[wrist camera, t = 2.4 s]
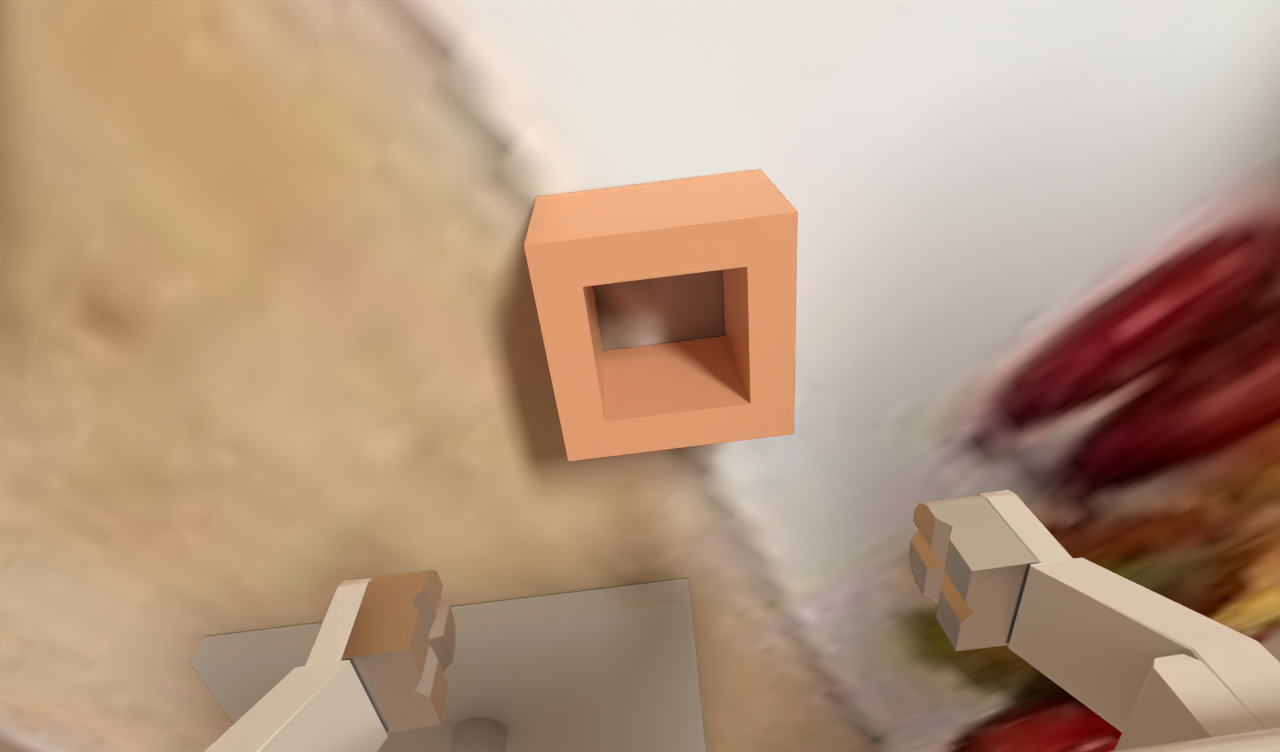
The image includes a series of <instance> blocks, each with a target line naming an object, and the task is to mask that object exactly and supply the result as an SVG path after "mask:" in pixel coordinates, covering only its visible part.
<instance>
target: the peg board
mask: <svg viewBox="0 0 1280 752" xmlns="http://www.w3.org/2000/svg"><path fill="white" fill-rule="evenodd" d="M451 610H452V613H453V616H454V622H455V651H454V657H453V662H452V663H451V664H450V665H449V666H448V667H447V669H446V670H445V671H444V672H443V674H444V676H445V679H446V681H447V684H448V690H447V695H446V700H445V705H444V710H443V716H442V721H441V724H438V725H432V726H426V727H420V728H414V729H409V730H403V731H397V732H391V733H387V735H388V737H387V738H386V740H385V741H384V743H383V744H382V745H381V747H380V748H379V749H378V751H377V752H706V747H705V736H704V726H703V716H702V706H701V695H700V685H699V675H698V665H697V654H696V644H695V634H694V624H693V613H692V603H691V596H690V590H689V583H688V578H686V579H678V580H670V581H661V582H653V583H645V584H636V585H628V586H620V587H612V588H603V589H595V590H587V591H579V592H570V593H562V594H554V595H546V596H537V597H529V598H521V599H512V600H504V601H496V602H488V603H479V604H471V605H463V606H455V607H451ZM322 623H323V622H322ZM322 623H314V624H306V625H298V626H289V627H281V628H273V629H265V630H256V631H248V632H240V633H231V634H223V635H215V636H207V637H204V638H203V640H202V641H201V643H200V645H199V646H198V648H197V650H196V651H195V653H194V655H193V657H192V658H191V660H190V662H189V663H190V665H191V666H192V668H193V669H194V670H195V672H196V673H197V674H198V676H199V677H200V678H201V680H202V681H203V683H204V684H205V685H206V687H207V688H208V689H209V691H210V692H211V694H212V695H213V696H214V698H215V699H216V700H217V702H218V703H219V704H220V706H221V707H222V709H223V710H224V711H225V713H226V714H227V715H228V717H229V718H230V720H231V721H232V722H233V724H235V723H236V722H237V721H238V720H239V719H240V718H241V717H242V716H243V715H244V714H246V713H247V712H248V711H249V710H250V709H251V708H252V707H253V706H254V705H255V704H256V703H257V702H259V701H260V700H261V699H262V698H263V697H264V696H265V695H266V694H267V693H268V692H269V691H270V690H272V689H273V688H274V687H275V686H276V685H277V684H278V683H279V682H280V681H281V680H282V679H283V678H285V677H286V676H287V675H288V674H289V673H290V672H291V671H292V670H293V669H294V668H295V667H301V666H305V664H306V662H307V659H308V657H309V654H310V652H311V650H312V647H313V645H314V642H315V640H316V637H317V635H318V632H319V630H320V627H321V625H322Z"/></svg>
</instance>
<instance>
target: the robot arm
mask: <svg viewBox="0 0 1280 752" xmlns="http://www.w3.org/2000/svg"><path fill="white" fill-rule="evenodd" d="M913 521H914V522H915V524H916V526H917V527H918V529H919V532H918V533H917V534H916V535H915V536H914V537H913V538H912V539H911V541H910V552H909V556H910V562H911V568H912V572H913V575H914V578H915V580H916V583H917V585H918V587H919V588H920V590H921V592H922V594H923V596H925V597H927V598H928V599H930V600H931V601H933V602H935V603H936V604H938V607H937V613H936V618H937V620H938V622H939V624H940V625H941V627H942V629H943V630H944V632H945V634H946V636H947V637H948V639H949V641H950V642H951V644H952V646H953V648H954V649H955V651H962V650H971V649H979V648H988V647H997V646H1006V645H1009V646H1008V648H1009V649H1010V650H1011V651H1013V652H1014V653H1016V654H1017V655H1018V656H1020V657H1021V658H1022V659H1024V660H1025V661H1026V662H1028V663H1029V664H1030V665H1032V666H1033V667H1034V668H1036V669H1037V670H1038V671H1040V672H1041V673H1042V674H1044V675H1045V676H1046V677H1048V678H1049V679H1051V680H1052V681H1053V682H1055V683H1056V684H1057V685H1059V686H1060V687H1061V688H1063V689H1064V690H1065V691H1067V692H1068V693H1069V694H1071V695H1072V696H1073V697H1075V698H1076V699H1077V700H1079V701H1080V702H1081V703H1083V704H1084V705H1085V706H1087V707H1088V708H1090V709H1091V710H1092V711H1094V712H1095V713H1096V714H1098V715H1099V716H1100V717H1102V718H1103V719H1104V720H1106V721H1107V722H1108V723H1110V724H1111V725H1112V726H1114V727H1115V728H1116V729H1118V730H1119V731H1120V732H1122V734H1121V737H1120V739H1119V741H1118V743H1117V746H1116V748H1115V750H1114V751H1112V752H1280V663H1279V661H1278V660H1276V659H1275V658H1274V657H1273V656H1272V655H1271V654H1270V653H1269V652H1268V651H1267V650H1266V649H1265V648H1264V647H1263V646H1262V645H1261V644H1260V643H1259V642H1258V641H1256V640H1253V639H1251V638H1249V637H1247V636H1245V635H1243V634H1241V633H1239V632H1237V631H1235V630H1233V629H1230V628H1228V627H1226V626H1224V625H1222V624H1220V623H1218V622H1216V621H1214V620H1212V619H1210V618H1207V617H1205V616H1203V615H1201V614H1199V613H1197V612H1195V611H1193V610H1191V609H1189V608H1187V607H1184V606H1182V605H1180V604H1178V603H1176V602H1174V601H1172V600H1170V599H1168V598H1166V597H1164V596H1161V595H1159V594H1157V593H1155V592H1153V591H1151V590H1149V589H1147V588H1145V587H1143V586H1141V585H1138V584H1136V583H1134V582H1132V581H1130V580H1128V579H1126V578H1124V577H1122V576H1120V575H1118V574H1115V573H1113V572H1111V571H1109V570H1107V569H1105V568H1103V567H1101V566H1099V565H1097V564H1095V563H1092V562H1090V561H1088V560H1086V559H1084V558H1074V559H1073V558H1072V557H1071V556H1070V555H1069V554H1068V552H1067V551H1066V550H1065V549H1064V548H1063V547H1062V546H1061V545H1060V543H1059V542H1058V541H1057V540H1056V539H1055V538H1054V537H1053V536H1052V534H1051V533H1050V532H1049V531H1048V530H1047V529H1046V528H1045V526H1044V525H1043V524H1042V523H1041V522H1040V521H1039V520H1038V519H1037V517H1036V516H1035V515H1034V514H1033V513H1032V512H1031V511H1030V510H1029V508H1028V507H1027V506H1026V505H1025V504H1024V503H1023V502H1022V501H1021V499H1020V498H1019V497H1018V496H1017V495H1016V494H1015V493H1014V492H1012V491H1010V490H1001V491H994V492H988V493H981V494H977V495H968V496H962V497H955V498H948V499H941V500H934V501H928V502H921V503H919V504H918V505H917V507H916V508H915V513H914V519H913ZM442 587H443V585H442V583H441V580H440V578H439V575H438V573H437V572H436V571H433V570H429V571H420V572H412V573H403V574H394V575H385V576H376V577H373V578H364V579H355V580H346V581H343V582H342V583H341V584H340V585H339V586H338V587H337V589H336V591H335V593H334V596H333V598H332V601H331V603H330V605H329V608H328V610H327V613H326V615H325V618H324V620H323V623H322V625H321V627H320V630H319V632H318V635H317V637H316V640H315V642H314V645H313V647H312V650H311V652H310V654H309V657H308V659H307V662H306V664H305V666H301V667H295V668H294V669H293V670H292V671H291V672H290V673H289V674H288V675H287V676H286V677H285V678H283V679H282V680H281V681H280V682H279V683H278V684H277V685H276V686H275V687H274V688H273V689H272V690H270V691H269V692H268V693H267V694H266V695H265V696H264V697H263V698H262V699H261V700H260V701H259V702H257V703H256V704H255V705H254V706H253V707H252V708H251V709H250V710H249V711H248V712H247V713H246V714H244V715H243V716H242V717H241V718H240V719H239V720H238V721H237V722H236V723H235V724H234V725H233V726H231V727H230V728H229V729H228V730H227V731H226V732H225V733H224V734H223V735H222V736H221V737H220V738H218V739H217V740H216V741H215V742H214V743H213V744H212V745H211V746H210V747H209V748H208V749H207V750H205V751H204V752H377V751H378V749H379V748H380V747H381V745H382V744H383V743H384V741H385V740H386V738H387V737H388V735H387V733H391V732H397V731H403V730H409V729H414V728H420V727H426V726H432V725H438V724H441V721H442V716H443V710H444V705H445V700H446V695H447V690H448V684H447V681H446V679H445V676H444V674H443V672H444V671H445V670H446V669H447V667H448V666H449V665H450V664H451V663H452V662H453V657H454V651H455V622H454V616H453V613H452V610H451V607H450V604H449V603H447V602H446V601H444V600H442V599H441V598H440V596H441V591H442Z"/></svg>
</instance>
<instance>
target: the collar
mask: <svg viewBox="0 0 1280 752" xmlns="http://www.w3.org/2000/svg"><path fill="white" fill-rule="evenodd" d="M797 221H798V212H797V211H796V209H795V208H794V207H793V206H792V205H791V204H790V203H789V201H788V200H787V199H786V198H785V197H784V196H783V194H782V193H781V192H780V191H779V190H778V189H777V187H776V186H775V185H774V184H773V183H772V182H771V181H770V179H769V178H768V177H767V176H766V175H765V174H764V172H763V171H762V170H761V169H758V170H749V171H741V172H733V173H725V174H717V175H709V176H701V177H693V178H685V179H676V180H668V181H660V182H652V183H644V184H636V185H628V186H620V187H612V188H603V189H595V190H587V191H579V192H571V193H563V194H555V195H547V196H539V197H536V200H535V204H534V208H533V212H532V216H531V220H530V224H529V227H528V231H527V235H526V239H525V243H524V249H525V254H526V259H527V264H528V269H529V273H530V278H531V283H532V288H533V293H534V298H535V303H536V307H537V312H538V317H539V322H540V327H541V332H542V336H543V341H544V346H545V351H546V356H547V361H548V365H549V370H550V375H551V380H552V385H553V390H554V395H555V399H556V404H557V409H558V414H559V419H560V424H561V428H562V433H563V438H564V443H565V448H566V453H567V458H568V461H575V460H584V459H592V458H600V457H608V456H616V455H625V454H633V453H641V452H649V451H657V450H666V449H674V448H682V447H690V446H699V445H707V444H715V443H723V442H731V441H740V440H748V439H756V438H764V437H773V436H781V435H789V434H794V393H795V335H796V278H797ZM716 270H723V286H724V309H725V331H726V336H721V337H712V338H704V339H696V340H688V341H680V342H671V343H663V344H655V345H647V346H639V347H631V348H622V349H614V350H606V351H603V347H602V340H601V334H600V328H599V321H598V315H597V308H596V302H595V295H594V289H593V285H602V284H610V283H618V282H626V281H634V280H642V279H651V278H659V277H667V276H675V275H683V274H691V273H699V272H708V271H716Z"/></svg>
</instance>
